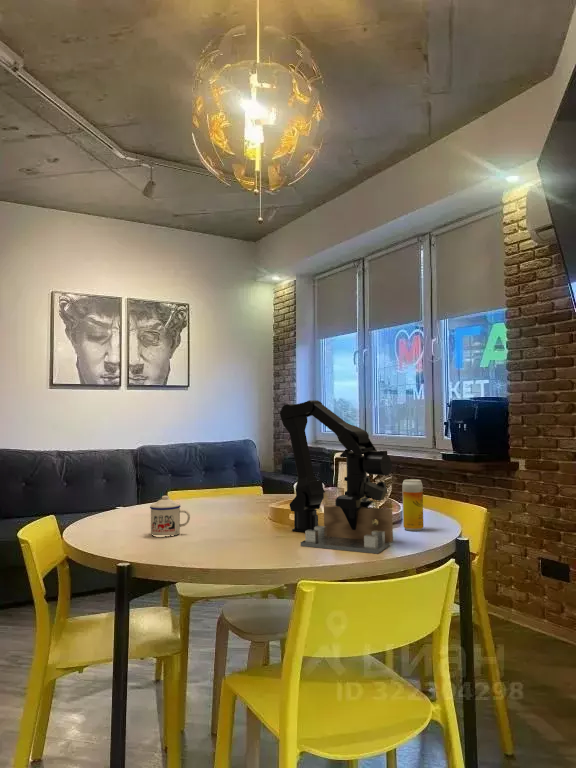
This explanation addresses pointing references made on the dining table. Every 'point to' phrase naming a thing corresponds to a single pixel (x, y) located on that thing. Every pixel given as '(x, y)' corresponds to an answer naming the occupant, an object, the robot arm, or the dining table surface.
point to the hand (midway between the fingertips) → (357, 527)
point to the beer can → (412, 505)
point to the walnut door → (358, 522)
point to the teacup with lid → (166, 517)
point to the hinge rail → (345, 541)
